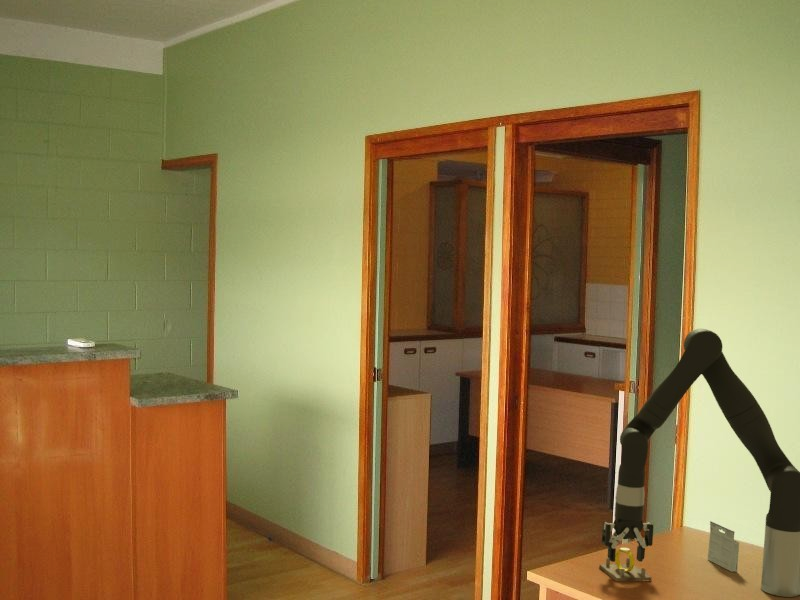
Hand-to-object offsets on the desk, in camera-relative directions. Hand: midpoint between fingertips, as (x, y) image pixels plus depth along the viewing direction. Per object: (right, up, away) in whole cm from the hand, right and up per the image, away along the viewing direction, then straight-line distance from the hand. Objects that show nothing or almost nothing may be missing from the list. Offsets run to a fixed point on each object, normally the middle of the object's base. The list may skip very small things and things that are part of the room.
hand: (625, 560), depth 253 cm
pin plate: (0, -4, 0) cm, 4 cm away
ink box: (+31, -5, +13) cm, 34 cm away
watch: (0, -3, 0) cm, 3 cm away
